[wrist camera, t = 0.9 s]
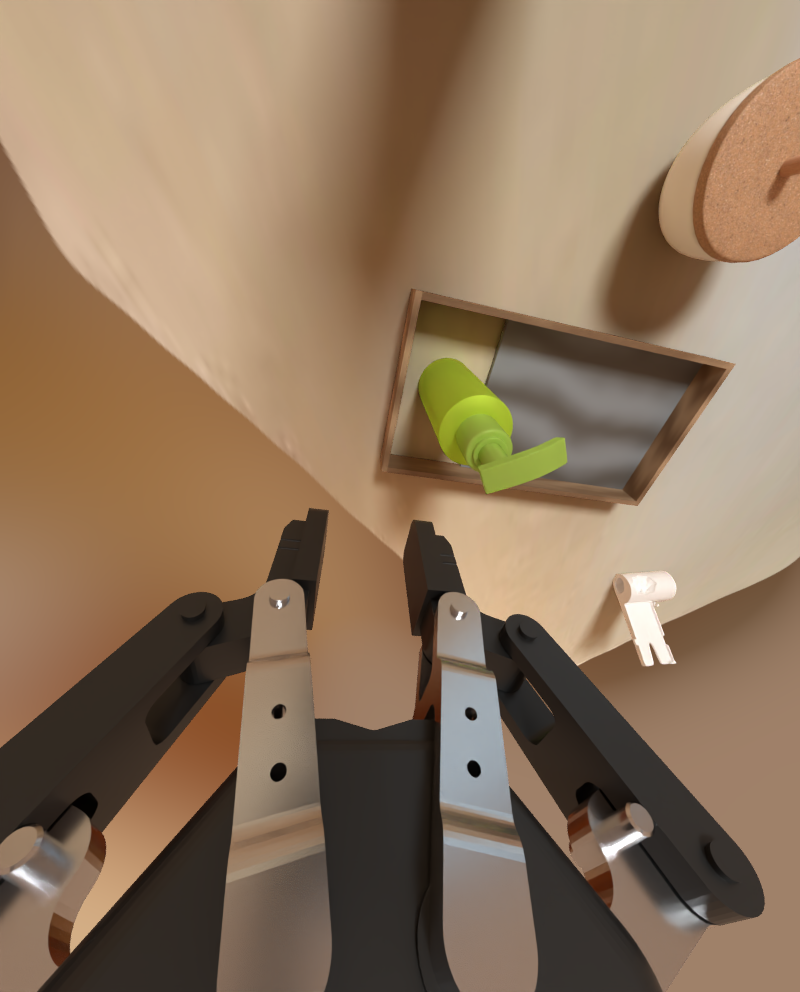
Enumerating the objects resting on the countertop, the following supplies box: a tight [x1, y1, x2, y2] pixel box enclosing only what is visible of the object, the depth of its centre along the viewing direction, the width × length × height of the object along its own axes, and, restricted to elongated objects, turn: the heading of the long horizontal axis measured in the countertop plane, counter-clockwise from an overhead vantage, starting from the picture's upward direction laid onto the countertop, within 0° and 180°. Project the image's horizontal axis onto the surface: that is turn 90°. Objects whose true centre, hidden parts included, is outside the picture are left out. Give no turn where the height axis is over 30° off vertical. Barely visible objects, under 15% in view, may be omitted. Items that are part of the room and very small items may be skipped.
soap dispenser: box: [418, 358, 567, 494], centre depth 29 cm, size 6×7×20 cm
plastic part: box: [613, 571, 676, 666], centre depth 55 cm, size 8×10×12 cm
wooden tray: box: [381, 289, 735, 506], centre depth 38 cm, size 18×34×4 cm, turn 79°
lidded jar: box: [658, 59, 800, 263], centre depth 26 cm, size 11×11×9 cm
